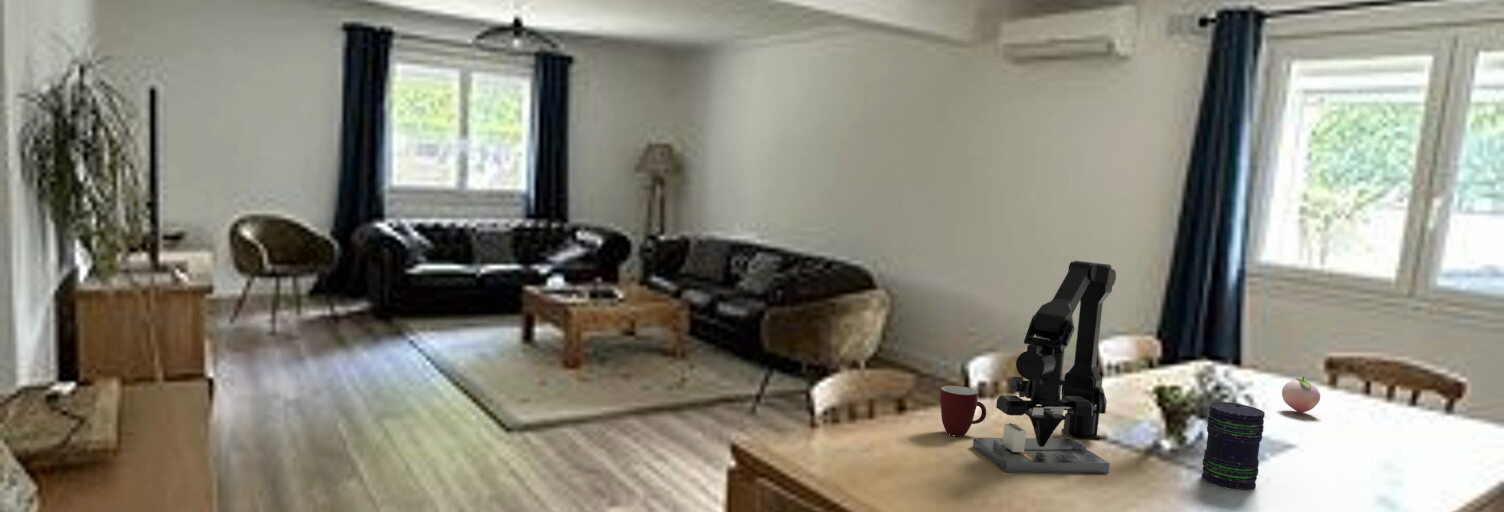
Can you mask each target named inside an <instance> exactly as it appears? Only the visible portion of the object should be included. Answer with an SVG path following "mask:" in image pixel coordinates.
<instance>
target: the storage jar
mask: <svg viewBox="0 0 1504 512" xmlns="http://www.w3.org/2000/svg"><path fill="white" fill-rule="evenodd" d="M1265 414H1266V413H1265V411H1264V410H1262V409H1259V408H1257V407H1254V406H1250V405H1246V404H1241V403H1235V402H1234V403H1233V402H1226V401H1225V402H1224V401H1223V402H1222V401H1216V402H1211V403H1210V404H1209V412H1208V416H1207V426H1206V432H1207V437H1206V438H1207V440H1206V448H1205V450H1204V454H1203V458H1202V464H1201V465H1202V473H1201V479H1202V480H1203V481H1204V482H1205V483H1206V482H1207V483H1209V484H1210V485H1213V486H1215V487H1220V488H1223V489H1228V490H1234V491H1245V492H1246V491H1254V490H1255V489H1256V487H1257V483H1256V481H1257V479H1258V475H1259V463H1260V460H1259V454H1260V453H1259V452H1260V444H1261V442H1262V440H1263V439H1262V438H1263V432H1264V427H1265V426H1264V422H1265V420H1264V418H1265Z"/></svg>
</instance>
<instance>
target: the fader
mask: <svg viewBox="0 0 1504 512" xmlns="http://www.w3.org/2000/svg"><path fill="white" fill-rule="evenodd" d="M1003 425H1004V428H1003V436H1002V438H1003V443H1004V444H1005V447H1007V448H1008V449H1010V450H1011V451H1012V452H1024V447H1025V438H1027V437H1026V436H1027V435H1026V434H1027V430H1026V429H1024V428H1022V427H1021V426H1019V425H1018V424H1016V423H1011V422H1009V423H1004V424H1003Z"/></svg>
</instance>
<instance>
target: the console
mask: <svg viewBox="0 0 1504 512" xmlns="http://www.w3.org/2000/svg"><path fill="white" fill-rule="evenodd" d="M972 447H973V448H974V449H975V450H976V451H978V453H981V455H983V456H984V457H985V458H986V459H988V460H989V461H991V462H992V463H993V464H995V466H997V467H998V468H999V469H1001V470H1002V471H1003V472H1004V473H1051V474H1052V473H1056V474H1057V473H1071V474H1072V473H1074V474H1075V473H1081V474H1082V473H1083V474H1085V473H1086V474H1088V473H1090V474H1091V473H1093V474H1094V473H1095V474H1097V473H1098V474H1099V473H1101V474H1103V473H1104V474H1105V473H1107V474H1108V473H1109V472H1110V462H1109V461H1107V460H1105V459H1104V458H1102V457H1100V456H1099V455H1097V454H1095V453H1093V452H1092V451H1091V450H1089V449H1087V444H1086V443H1084V442H1083V441H1080V439H1074V440H1073V439H1071V438H1051V437H1050V438H1049V439H1048V441H1047V442H1046V444H1045V446H1044V447H1040V446H1039V445H1038V443H1037V439H1036V437H1033V438H1032V437H1025V447H1024V452H1012V451H1011V450H1010V449H1008V448H1007V447H1005V444H1004V443H1003V437H973V442H972Z"/></svg>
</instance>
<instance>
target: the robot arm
mask: <svg viewBox="0 0 1504 512" xmlns="http://www.w3.org/2000/svg"><path fill="white" fill-rule="evenodd" d="M1116 277H1117V272H1116V270H1115V269H1113V268H1112V265H1111V264H1107V263H1099V262H1093V261H1092V262H1091V261H1083V260H1074V261H1070V263H1069V265H1068V271H1067V273H1066V275H1065V277H1064V279H1063V280H1062V282H1061V284H1060V285H1059V287H1058V289H1057V291H1056V293H1055V294H1054V296H1053V298H1052V299H1051V301H1049V302H1046V303H1044V304H1042V305H1040V307H1039V308H1038V310H1037V311H1036V313H1035V314H1033V316H1032V318H1031V320H1030V323H1029V326H1028V329H1027V332H1026V334H1025V338H1024V340H1023V344H1025V345H1027V347H1026V351H1023V352H1021V354H1019V355H1018V357H1017V359H1016V362H1015V367H1016V371H1017V372H1018V374H1019V375H1020V376H1012V377H1011V381H1010V390H1011V392H1012V393H1018V396H1017V395H1013V394H1011V395H1006V394H1001V395H999V397H998V398H997V399H996V406H995V407H996V409H998V410H999V411H1001V412H1002V413H1004V414H1005V415H1007V416H1019V417H1020V416H1024V415H1025V416H1028V418H1029V419H1030V422H1031V424H1032V427H1033V431H1034V435H1035V438H1036V439H1037V443H1038V445H1039V446H1040V447H1044V446H1045V444H1046V442H1047V441H1048V439H1049V438H1051V436H1052V435H1053V433H1054V431H1055V430H1056V429H1057V427H1058V426H1059V425H1060V424H1061V422H1062V421H1063V428H1061V431H1062V432H1063V433H1065V434H1067V435H1068V436H1070V437H1072V438H1073V439H1074V440H1084V439H1085V440H1101V439H1102V437H1101V436H1100V435H1098V428H1099V420H1100V414H1103V415H1105V414H1106V413H1107V412H1106V411H1107V403H1108V401H1107V398H1106V394H1105V390H1104V388H1103V377H1102V376H1101V373H1100V371H1099V369H1098V367H1097V361H1098V360H1097V359H1098V352H1099V351H1098V350H1099V343H1100V342H1099V340H1100V333H1101V331H1100V330H1101V323H1102V313H1103V304H1104V302H1105V301H1106V299H1107V298H1108V297H1109V296H1110V294H1111V293H1112V291H1113V286H1114V285H1115V283H1116V279H1117V278H1116ZM1079 303H1080V305H1079V313H1078V325H1077V331H1076V332H1077V333H1076V343H1075V353H1074V363H1073V365H1072V366H1071V368H1070V369H1069V370H1068V372H1065V375H1064V377H1063V371H1064V360H1065V349H1066V348H1067V347H1068V346H1069V344H1070V342H1071V339H1072V337H1073V335H1074V332H1075V328H1076V327H1075V326H1074V320H1073V314H1074V312H1075V311H1076V309H1077V306H1078V304H1079ZM1035 336H1036V337H1035ZM1063 378H1064V379H1063ZM1024 379H1025V380H1024ZM1022 398H1026V399H1028V400H1026V399H1022ZM1029 399H1030V400H1029ZM1064 411H1066V412H1065V413H1064Z"/></svg>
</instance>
